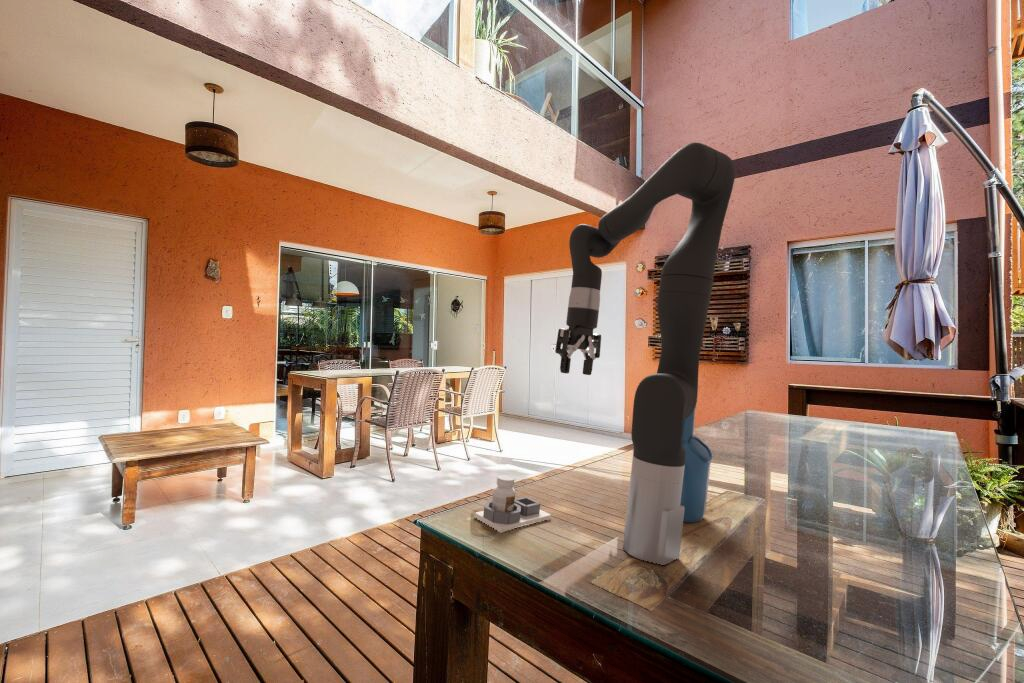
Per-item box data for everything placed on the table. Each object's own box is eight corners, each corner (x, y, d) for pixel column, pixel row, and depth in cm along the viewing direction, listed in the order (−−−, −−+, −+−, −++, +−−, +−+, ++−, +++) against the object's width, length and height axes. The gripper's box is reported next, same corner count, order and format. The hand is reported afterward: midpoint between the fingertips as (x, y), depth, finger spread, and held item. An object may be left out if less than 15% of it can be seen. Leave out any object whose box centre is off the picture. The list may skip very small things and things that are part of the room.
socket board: (550, 519, 94) (552, 505, 94) (500, 532, 84) (502, 516, 84) (523, 506, 99) (525, 493, 99) (474, 517, 90) (476, 502, 90)
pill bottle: (510, 522, 87) (514, 482, 87) (488, 517, 88) (492, 478, 88) (514, 514, 91) (518, 476, 91) (494, 510, 92) (498, 472, 92)
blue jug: (634, 507, 107) (648, 383, 107) (663, 499, 116) (676, 384, 116) (689, 529, 97) (704, 391, 97) (716, 519, 106) (730, 392, 106)
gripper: (577, 303, 102) (569, 374, 102) (613, 312, 111) (605, 377, 111) (552, 303, 107) (544, 370, 107) (589, 311, 117) (582, 373, 117)
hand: (576, 373), depth 109 cm, fingers open, 8 cm apart
